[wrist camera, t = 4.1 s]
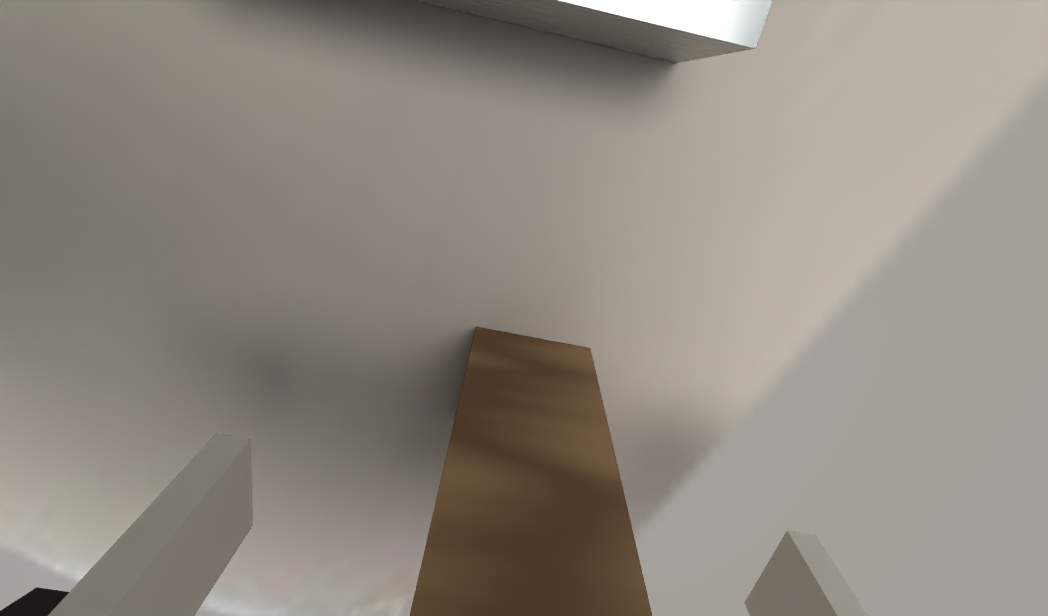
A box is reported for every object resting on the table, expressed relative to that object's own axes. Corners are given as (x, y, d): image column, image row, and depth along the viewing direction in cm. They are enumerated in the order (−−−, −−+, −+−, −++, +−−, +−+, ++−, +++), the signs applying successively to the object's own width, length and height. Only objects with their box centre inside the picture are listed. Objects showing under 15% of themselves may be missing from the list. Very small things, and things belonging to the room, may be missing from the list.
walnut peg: (458, 420, 18) (321, 1054, 6) (476, 326, 16) (335, 940, 5) (562, 439, 18) (621, 1077, 6) (590, 348, 17) (735, 977, 5)
